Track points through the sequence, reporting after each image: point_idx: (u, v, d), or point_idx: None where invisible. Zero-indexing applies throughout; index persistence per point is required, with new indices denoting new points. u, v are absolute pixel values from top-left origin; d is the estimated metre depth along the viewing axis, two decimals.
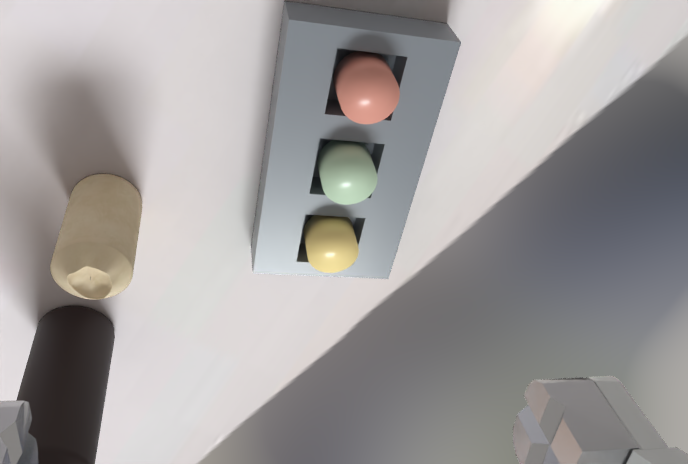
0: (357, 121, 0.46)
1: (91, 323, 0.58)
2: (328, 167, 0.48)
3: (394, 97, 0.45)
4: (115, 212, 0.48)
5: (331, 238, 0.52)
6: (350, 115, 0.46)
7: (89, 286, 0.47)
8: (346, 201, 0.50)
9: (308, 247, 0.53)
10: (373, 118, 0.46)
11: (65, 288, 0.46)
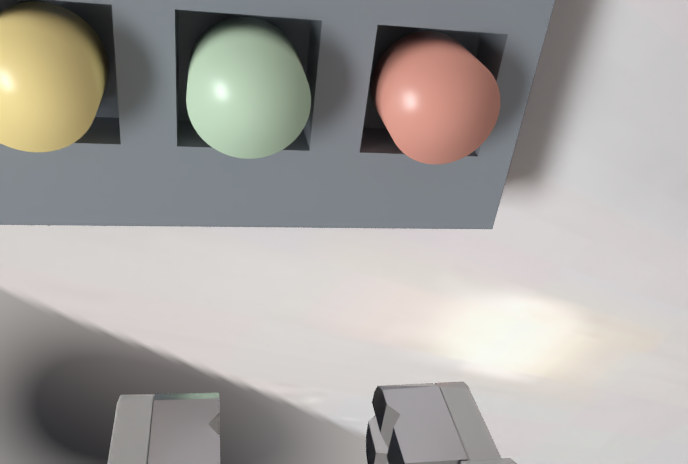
0: (395, 97, 0.23)
1: None
2: (284, 51, 0.22)
3: (439, 155, 0.25)
4: None
5: (76, 81, 0.21)
6: (409, 81, 0.23)
7: None
8: (195, 102, 0.22)
9: (31, 25, 0.20)
10: (399, 126, 0.24)
11: None
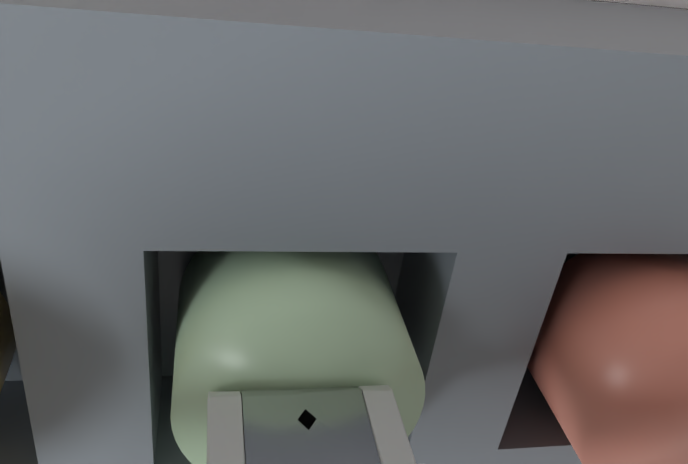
0: (607, 410, 0.11)
1: None
2: (378, 323, 0.10)
3: None
4: None
5: None
6: (643, 383, 0.11)
7: None
8: (189, 420, 0.11)
9: None
10: (605, 452, 0.12)
11: None
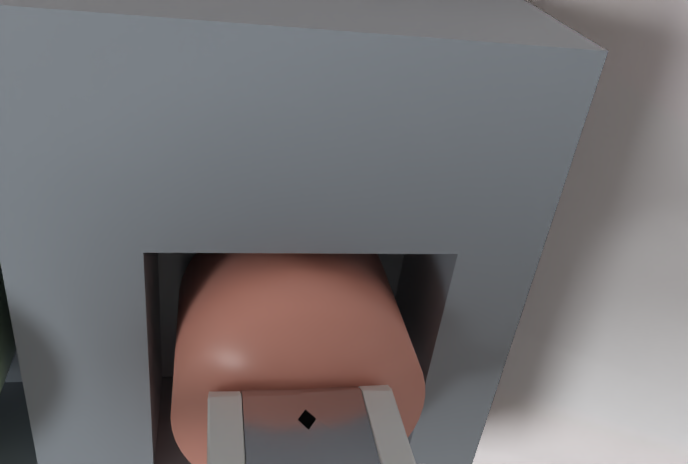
0: (180, 396, 0.10)
1: None
2: None
3: None
4: None
5: None
6: (209, 366, 0.10)
7: None
8: None
9: None
10: (203, 443, 0.11)
11: None
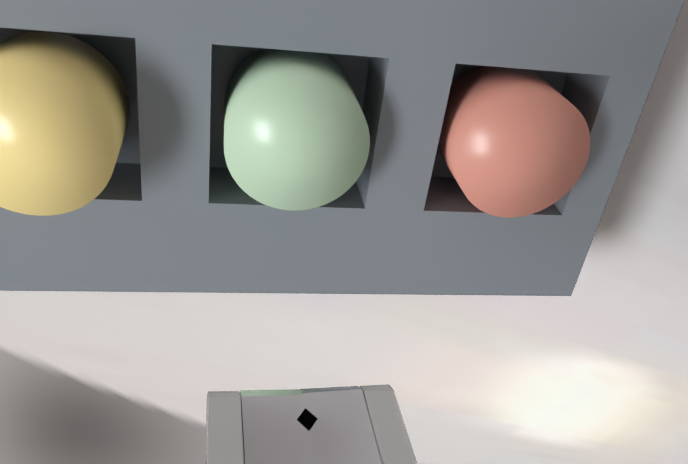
0: (468, 142, 0.20)
1: None
2: (341, 88, 0.18)
3: (514, 208, 0.21)
4: None
5: (89, 132, 0.17)
6: (486, 123, 0.19)
7: None
8: (234, 147, 0.19)
9: (35, 65, 0.16)
10: (471, 175, 0.20)
11: None
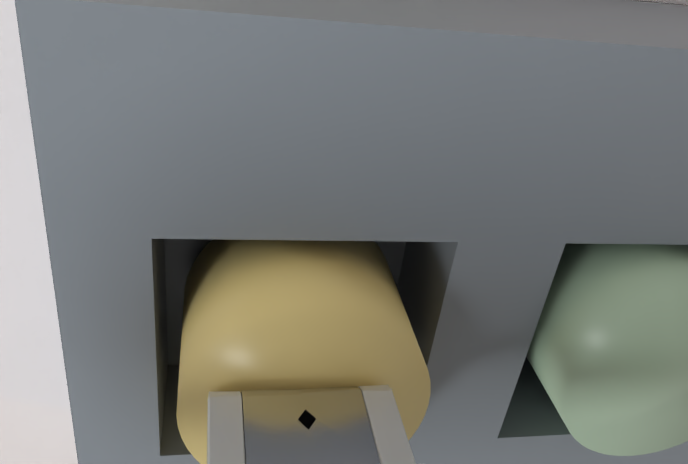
0: None
1: None
2: None
3: None
4: None
5: (398, 387, 0.11)
6: None
7: None
8: (581, 388, 0.12)
9: (337, 302, 0.10)
10: None
11: None
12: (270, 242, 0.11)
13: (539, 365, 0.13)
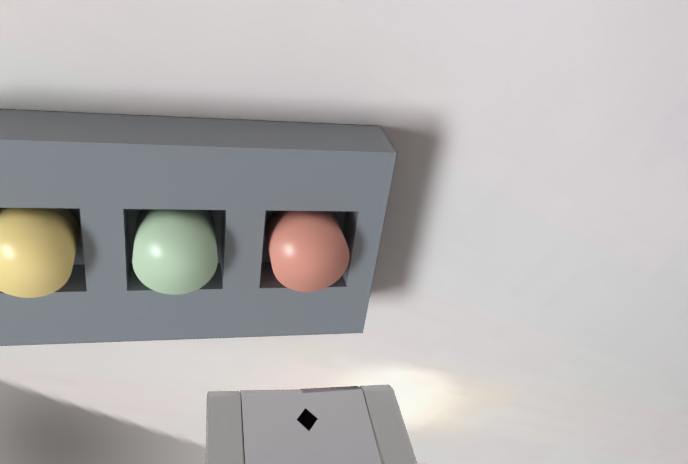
0: (275, 253, 0.34)
1: None
2: (197, 230, 0.33)
3: (310, 286, 0.36)
4: None
5: (58, 255, 0.32)
6: (284, 243, 0.34)
7: None
8: (138, 263, 0.33)
9: (28, 224, 0.31)
10: (280, 270, 0.35)
11: None
12: None
13: None
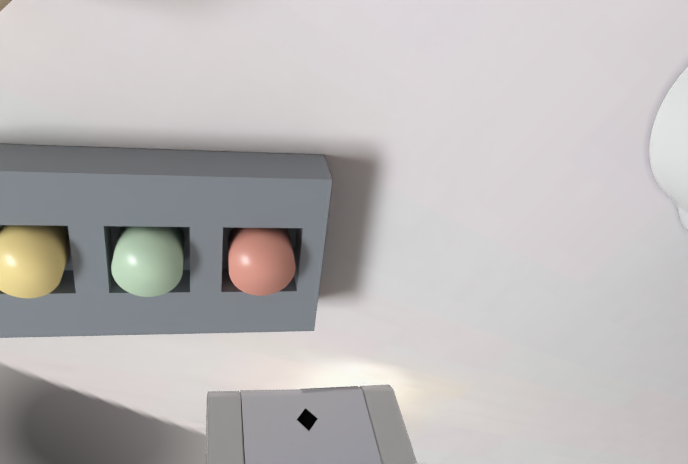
0: (231, 263, 0.41)
1: None
2: (164, 244, 0.40)
3: (263, 291, 0.43)
4: None
5: (50, 264, 0.39)
6: (239, 255, 0.41)
7: None
8: (116, 270, 0.40)
9: (25, 238, 0.38)
10: (236, 277, 0.42)
11: None
12: None
13: None
